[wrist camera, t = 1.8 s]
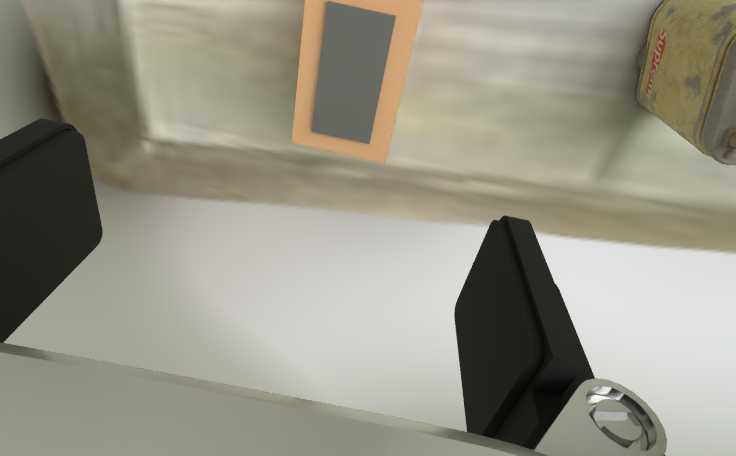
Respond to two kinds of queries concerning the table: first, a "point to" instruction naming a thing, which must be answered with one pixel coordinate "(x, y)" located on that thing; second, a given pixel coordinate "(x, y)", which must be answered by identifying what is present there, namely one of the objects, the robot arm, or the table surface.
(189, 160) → the table surface
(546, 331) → the robot arm
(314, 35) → the chute block
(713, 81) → the lighter
